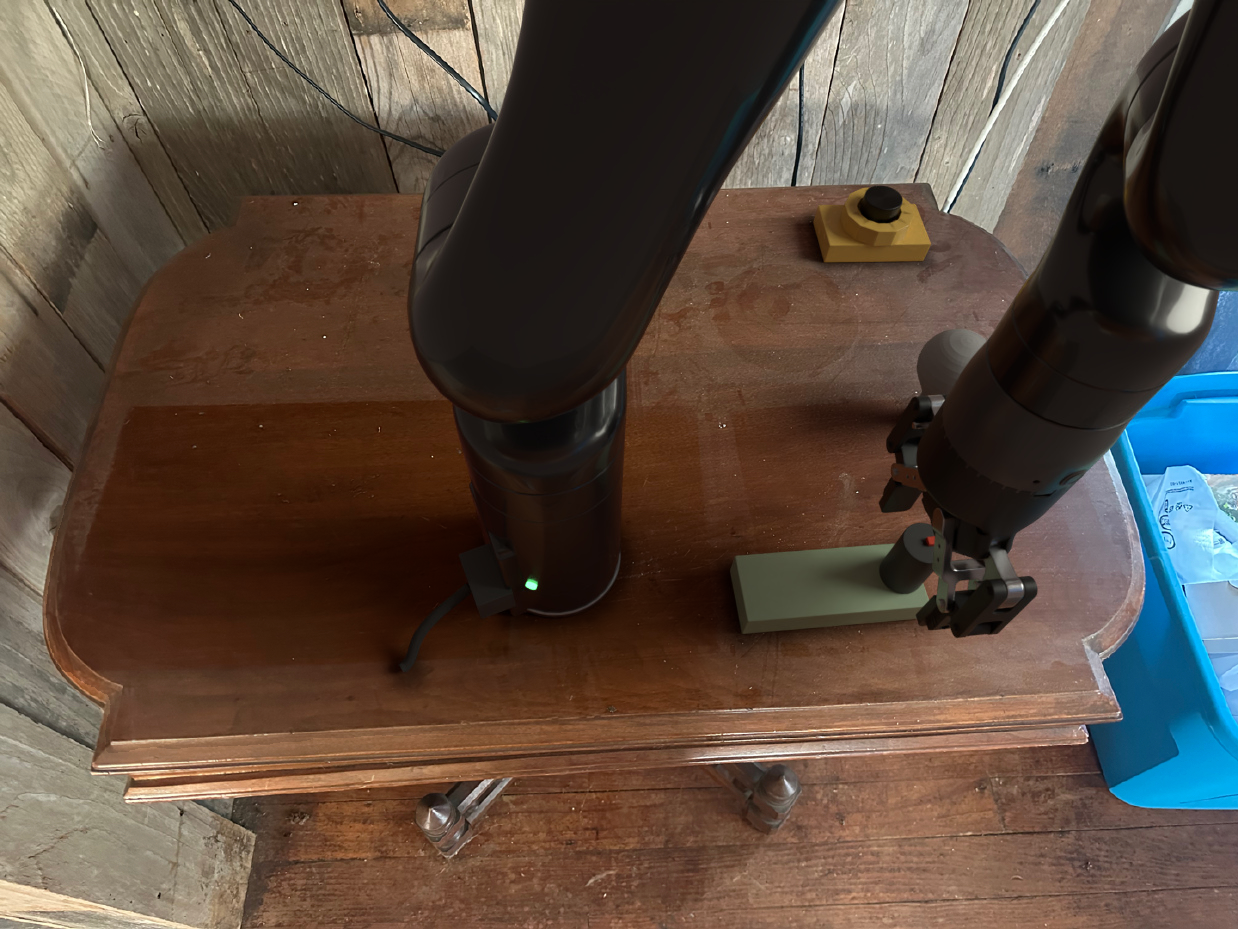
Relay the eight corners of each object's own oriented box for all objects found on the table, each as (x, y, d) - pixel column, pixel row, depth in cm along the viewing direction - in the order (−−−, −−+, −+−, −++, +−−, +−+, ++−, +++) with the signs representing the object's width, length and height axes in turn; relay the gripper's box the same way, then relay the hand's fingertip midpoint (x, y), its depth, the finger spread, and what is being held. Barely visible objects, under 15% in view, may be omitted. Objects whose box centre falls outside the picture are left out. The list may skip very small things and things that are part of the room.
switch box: (824, 264, 74) (835, 231, 71) (812, 220, 77) (822, 187, 74) (923, 263, 74) (939, 230, 71) (907, 219, 78) (921, 186, 74)
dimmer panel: (741, 634, 53) (747, 621, 51) (729, 570, 56) (734, 555, 54) (918, 619, 54) (931, 606, 52) (898, 556, 57) (909, 541, 55)
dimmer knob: (885, 595, 52) (912, 563, 48) (873, 557, 54) (898, 522, 49) (927, 592, 52) (957, 559, 48) (914, 553, 54) (942, 518, 50)
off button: (864, 224, 72) (869, 209, 70) (856, 200, 74) (861, 185, 72) (900, 224, 72) (907, 209, 70) (891, 199, 74) (897, 184, 72)
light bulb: (955, 451, 62) (1010, 374, 54) (888, 440, 63) (933, 361, 54) (952, 400, 65) (1005, 319, 57) (889, 390, 65) (931, 308, 57)
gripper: (905, 327, 42) (832, 479, 55) (1001, 558, 34) (889, 668, 48) (1034, 318, 42) (930, 471, 56) (1156, 544, 35) (1001, 657, 48)
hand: (911, 562), depth 52 cm, fingers open, 8 cm apart
